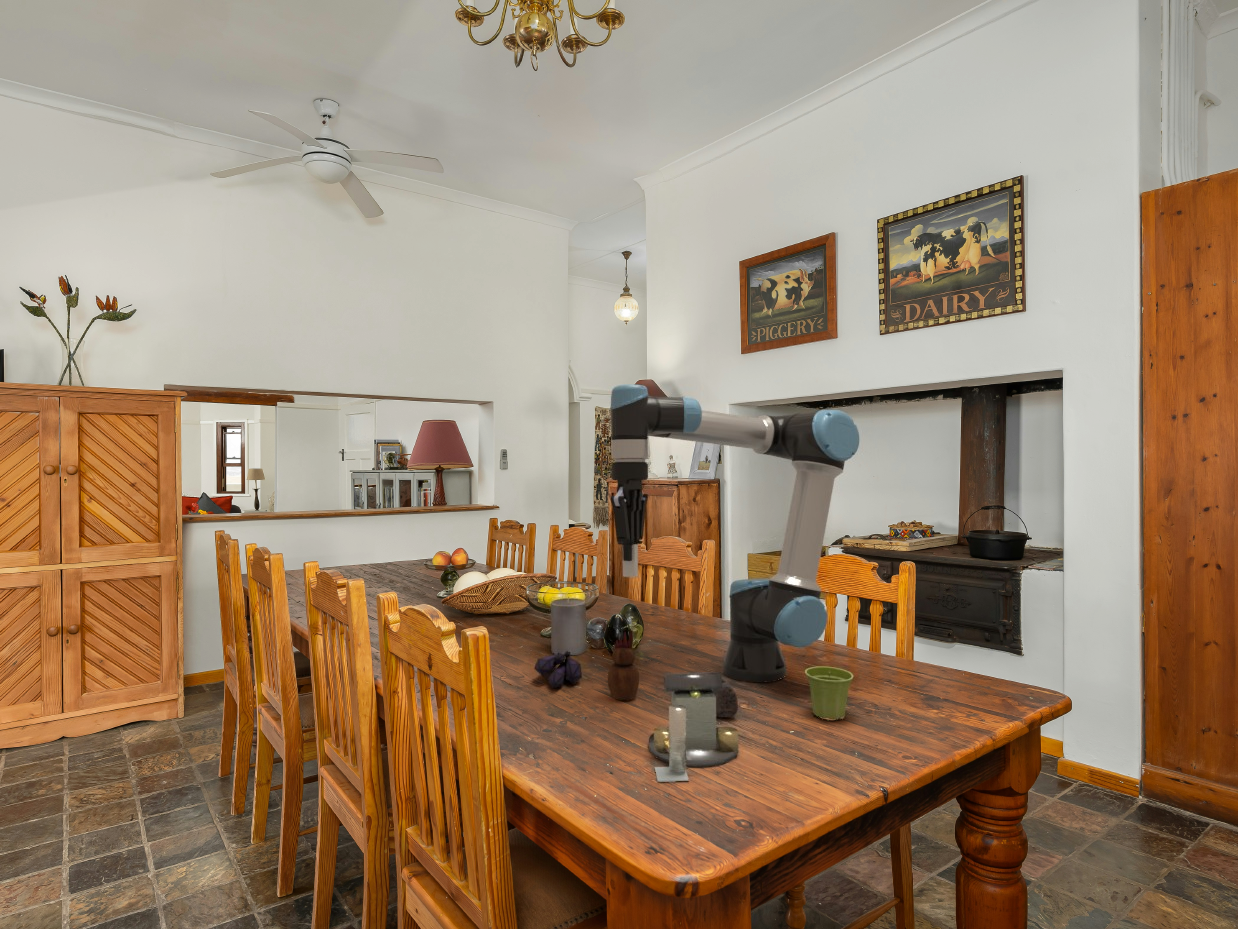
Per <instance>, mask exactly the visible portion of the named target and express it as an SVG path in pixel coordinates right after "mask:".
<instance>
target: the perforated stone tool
mask: <svg viewBox="0 0 1238 929" xmlns="http://www.w3.org/2000/svg"><path fill="white" fill-rule="evenodd" d="M713 693H714V695H715V696H716V717H719V718H722V719H723V718H732V717H734V716H736V714H737V712H738V710H739V701H738V697H737V696H738V695H737V693H736V691H735V689H734V687H733V686H732V685H731V684H730V683H729V682H728V681H727V680H726V679H724V678H722V691H713Z"/></svg>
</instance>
